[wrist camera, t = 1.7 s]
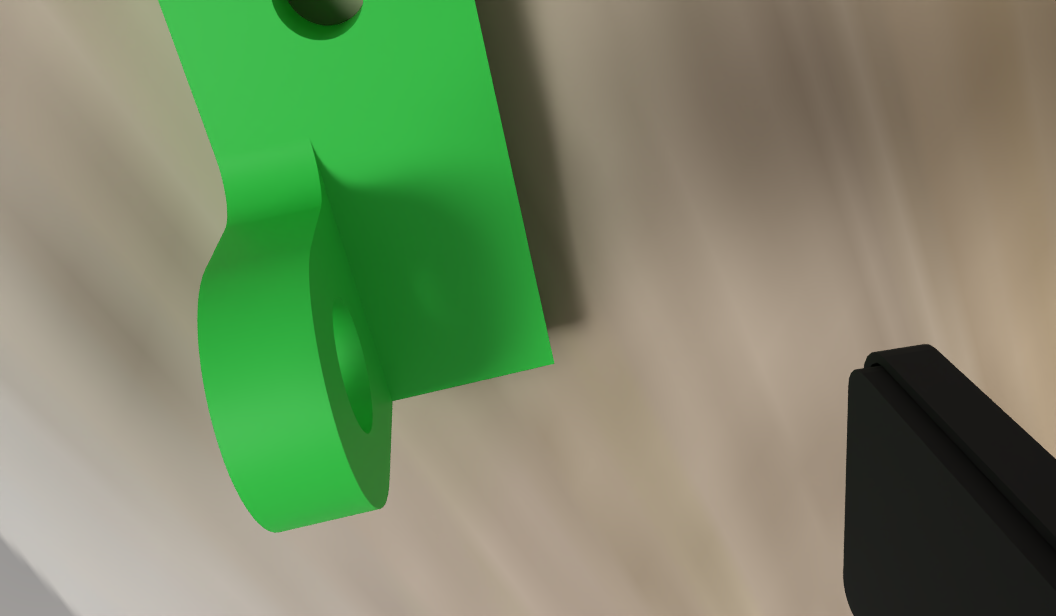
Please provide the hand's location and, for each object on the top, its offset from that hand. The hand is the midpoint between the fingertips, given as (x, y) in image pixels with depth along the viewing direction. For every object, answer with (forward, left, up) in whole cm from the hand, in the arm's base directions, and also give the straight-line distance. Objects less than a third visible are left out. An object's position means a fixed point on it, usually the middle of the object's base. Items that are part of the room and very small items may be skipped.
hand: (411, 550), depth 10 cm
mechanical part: (-1, -1, -15) cm, 15 cm away
